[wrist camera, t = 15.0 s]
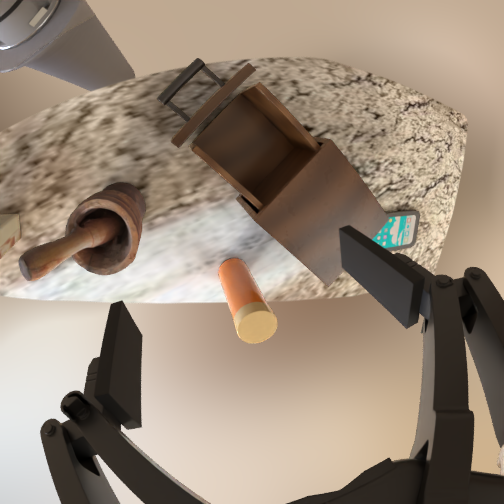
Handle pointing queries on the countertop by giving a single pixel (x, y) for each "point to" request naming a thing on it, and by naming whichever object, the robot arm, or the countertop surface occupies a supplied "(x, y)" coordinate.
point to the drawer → (244, 135)
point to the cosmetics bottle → (8, 232)
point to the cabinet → (320, 210)
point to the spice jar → (246, 302)
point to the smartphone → (399, 230)
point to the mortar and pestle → (94, 235)
